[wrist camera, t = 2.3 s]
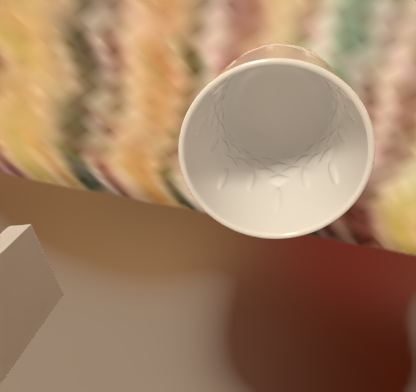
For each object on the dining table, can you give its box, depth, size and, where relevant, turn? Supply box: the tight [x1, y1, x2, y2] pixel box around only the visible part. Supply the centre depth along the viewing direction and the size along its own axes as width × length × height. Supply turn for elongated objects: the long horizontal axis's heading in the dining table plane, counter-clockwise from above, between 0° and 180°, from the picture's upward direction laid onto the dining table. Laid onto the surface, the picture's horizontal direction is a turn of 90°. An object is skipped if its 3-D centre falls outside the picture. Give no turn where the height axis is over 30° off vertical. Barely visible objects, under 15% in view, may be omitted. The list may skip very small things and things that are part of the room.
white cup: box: [179, 41, 375, 239], centre depth 20 cm, size 8×8×10 cm
